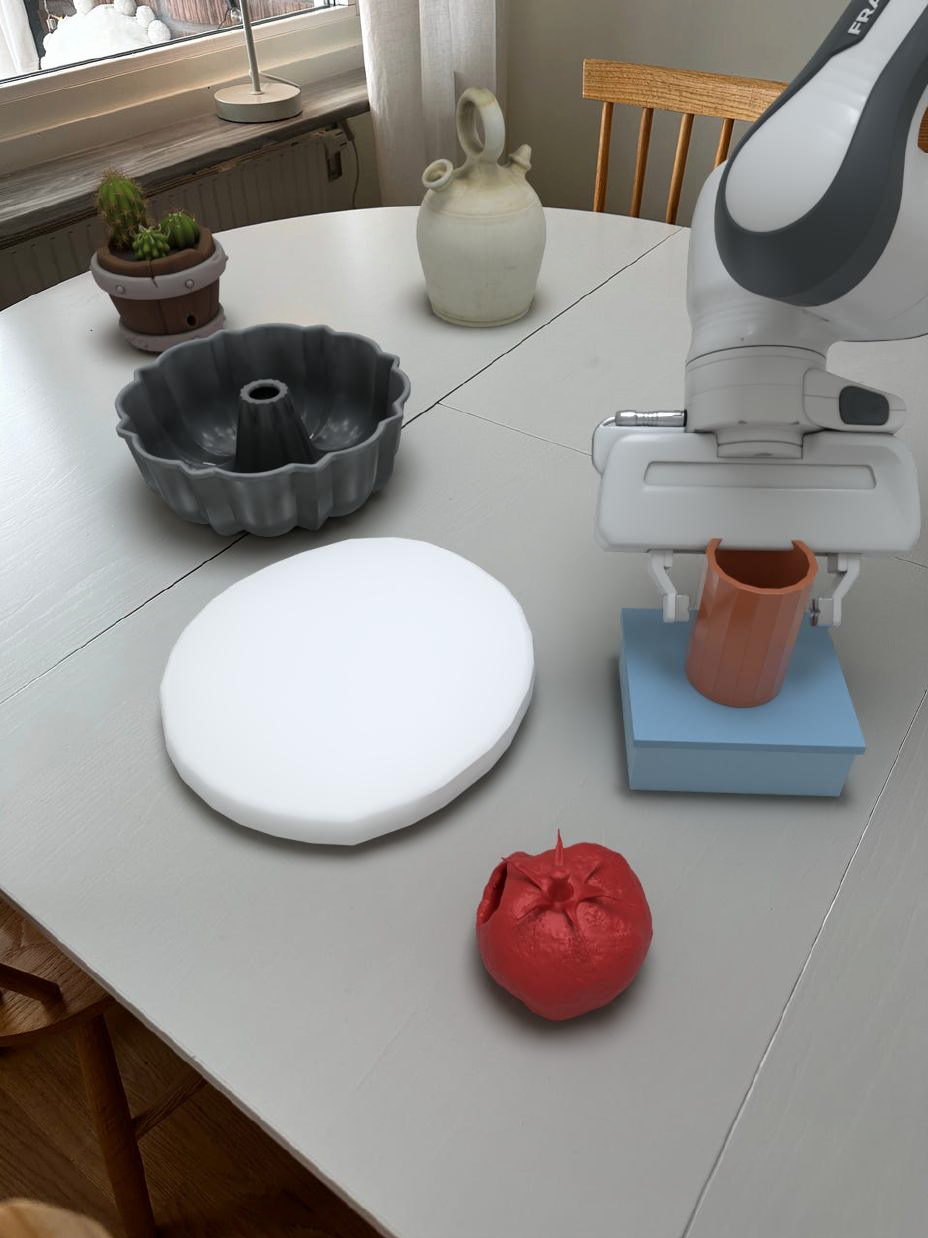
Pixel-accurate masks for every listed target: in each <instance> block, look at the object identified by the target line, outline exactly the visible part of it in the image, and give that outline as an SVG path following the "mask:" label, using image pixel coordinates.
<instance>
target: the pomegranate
mask: <svg viewBox="0 0 928 1238" xmlns="http://www.w3.org/2000/svg"><path fill="white" fill-rule="evenodd" d="M560 830H561V829H560V828H558V829H557V842H556V845H555V847H554V848H551V849H547V850H545V851H543V852H541V853H538V854H535V855H532V854H529V853H527V852H525V851H521V850H519V851H515V852H513V853H511V854H510V855H509V856H507V857H502V856H500V859H501V860H502V861H501V862H499V864H498V865H497V866H496V867H494V869H493V870H492V872H491V873H490V877H489V879H488V881H487V883H486V885H485V886H484V889H483V893H482V897H481V900H480V901H479V904H478V906H477V908H476V909H477V910H476V921H475V934H476V940H477V943H478V944H477V945H478V950H479V954H480V957H481V959H482V962H483V964H484V965H483V966H484V967H485V969H486V971H487V972H488V974H489V975H490V976H491V977H492V978H493V980H494V981H495V983H497V985H498V986H500V987H502V988H504V989H505V990H506V991H507V992H508V993H510V994H511V995H512V996H513V997H515V998H516V999H518V1000H520V1001H522V1002H523V1004H524V1005H525V1006H526V1007H527V1008H528V1009H529V1010H530V1012H532V1013H533V1014H534V1015H538V1016H541V1017H543V1018H545V1019H546V1020H548V1021H565V1020H569V1019H572V1018H575V1017H578V1016H582V1015H583V1014H586V1013H589V1012H591V1011H593V1010H599V1009H601V1008H602V1007H605V1006H607V1005H609V1004H610V1003H611V1002H612V1001H614V999H615V998H616V997H617V996H618V995H619V994H621V993H622V992H623V991H625V990H626V989H627V988H628V987H629V986H630V985H631V983H632V982H633V981H634V979H635V977H637V975H638V973H639V972H640V969H641V967H642V966H643V963H644V962H645V959H646V957H647V954H648V952H649V949H650V946H651V943H652V940H653V935H654V929H653V915H652V912H651V908H650V905H649V903H648V901H647V900H648V899H647V896H646V893H645V890H644V888H643V885H642V882H641V881H640V878H639V877H638V875H637V874H636V873H635V871H634V870H633V869H632V868H631V866H630V864H629V862H628V861H627V858H625V856H623V855H622V854H621V853H620V852H617V851H616V850H612V849H610V848H608V847H607V846H603V845H602V844H599V843H596V842H586V841H584V842H577V843H574V844H572V845H569V846H567V847H564V845H563V840H562V838H561V833H560V832H561V831H560Z"/></svg>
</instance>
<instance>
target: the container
mask: <svg viewBox="0 0 928 1238" xmlns="http://www.w3.org/2000/svg"><path fill="white" fill-rule="evenodd" d="M688 610H689V611H690V621H689V623H664V621H663V608H640V607H639V608H638V607H637V608H635V607H632V608H631V607H621V608H620V614H619V615H620V627H621V642H620V651H619V658H618V674H619V685H620V695H621V706H622V707H621V708H622V718H623V728H624V729H623V730H624V739H625V740H624V741H625V750H626V764H627V772H628V773H627V775H628V784H629V790H632V791H659V792H660V791H661V792H663V791H664V792H666V791H667V792H693V793H722V794H748V795H749V794H753V795H754V794H755V795H781V796H782V795H783V796H808V797H809V796H811V797H812V796H814V797H840V796H841V793H842V790H843V787H844V785H845V783H846V780H847V778H848V775H849V773H850V770H851V769H852V765H853V763H854V761H855V758H856V756H857V755H864V754H865V752H866V749H867V743H866V742H865V741H866V740H865V738H864V735H863V732H862V729H861V726H860V723H859V720H858V716H857V713H856V710H855V707H854V704H853V700H852V697H851V695H850V690H849V688H848V685H847V682H846V679H845V677H844V673H843V670H842V667H841V664H840V661H839V658H838V654H837V650H836V648H835V646H834V642H833V639H832V636H831V632H830V630H829V629H830V628H829V627H813V626H811V625H810V615H811V614H812V613H811V612H805V613H804V617H803V620H802V623H801V627H800V630H799V633H798V637H797V640H796V643H795V646H794V650H793V653H792V656H791V660H790V663H789V666H788V670H787V673H786V676H785V679H784V682H783V686H782V688H781V690H780V692H779V693H778V695H777V696H776V697H775V698H773V699H772V700H770V701H769V702H767V703H765V704H762V705H759V706H755V707H748V708H739V707H730V706H726V705H722V704H719V703H716V702H714V701H712V700H710V699H708V698H706V697H704V696H703V695H702V694H700V693H699V692H698V691H697V690H696V689H695V688H694V687H693V686H692V685H691V683H690V682H689V680H688V678H687V676H686V673H685V666H684V665H685V655H686V649H687V644H688V639H689V634H690V629H691V624H692V619H693V614H694V609H688Z"/></svg>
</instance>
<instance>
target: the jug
mask: <svg viewBox="0 0 928 1238" xmlns="http://www.w3.org/2000/svg"><path fill="white" fill-rule="evenodd" d="M476 109H477V110H478V113H479V115H480V118H481V121H482V126H483V130H484V132H483V133H484V145H483V143H482V142H481V140H480V137H479V134H478V131H477V125H476ZM455 125H456V133H457V136H458V137H457V138H458V141H459V144H460V146H461V148H462V151H464V153H465V156H466V160H465V162H464V164H462V165H461V166H460V167H457V168H455V169H454V166H453V163H452V161H450V160H449V159H447V158H439V159H437V160H435V161H433V162H431V163H430V164H429V165H428V166H427V167H426V168H425V170H424V171H423V174H422V176H421V183H422V185H423V186H424V187H425V189H428V190H427V191H426V193H425V195H424V196H423V200H422V201H421V204H420V207H419V211H418V214H417V219H416V226H415V227H416V228H415V235H416V236H415V237H416V246H417V251H418V252H417V253H418V256H419V260H420V261H419V262H420V265H421V269H422V273H423V276H424V280H425V281H424V282H425V285H426V292H427V296H428V299H429V303H430V304H431V309H432V312H433V313H434V315H436V317H437V318H439V319H441V320H442V321H445V322H447V323H450V324H452V325H455V326H456V325H457V326H461V327H467V328H493V327H500V326H504V325H508V324H511V323H513V322H515V321H518V320H520V319H522V318H523V317H524V316H526V314H528V312H529V310H530V307H531V303H532V301H533V297H534V294H535V291H536V288H537V283H538V279H539V276H540V273H541V268H542V264H543V259H544V254H545V249H546V243H547V222H546V221H547V220H546V215H545V212H544V208H543V205H542V203H541V200H540V198H539V196H538V194H537V193H536V191H535V190H534V188H533V187H532V186H531V184H530V183H529V182H528V181H527V180H526V173H527V172H529V171H530V170H531V169H532V164H531V162H530V161H531V157H532V147H531V146H529V145H528V144H527V143H524V144H522V145H520V147H519V148H517V150H516V151H514V152H513V153H510V154H508V162H507V163H506V164H504V165H499V164H498V160H499V159H500V157H501V155H502V154H503V151H504V148H505V143H506V141H505V140H506V127H505V120H504V116H503V111H502V108H501V107H500V104H499V101H498V100H497V97H496V96H495V95H494V94H493V93H492V92H491V91H490V89H488V88H486V87H485V86H482V85H481V86H480V85H475V86H474V85H473V86H471V87H468V88H467V89H466V90H465V91H464V92H463V93H462V94H461V96H460V97H459V99H458V102H457V106H456V113H455Z"/></svg>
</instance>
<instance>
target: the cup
mask: <svg viewBox="0 0 928 1238" xmlns="http://www.w3.org/2000/svg"><path fill="white" fill-rule="evenodd" d="M721 541H722V539H717V538H713V539H711V541H710V543H709V545H708V547H707V550H706V553H705V554H704V557H703V558H704V559H703V564H702V569H701V574H700V579H699V585H698V589H697V594H696V599H695V606H694V609H693V610H694V614H693V619H692V624H691V629H690V634H689V639H688V644H687V649H686V655H685V665H684V666H685V673H686V676H687V678H688V680H689V682H690V683H691V685H692V686H693V687H694V688H695V689H696V690H697V691H698V692H699V693H700V694H702V695H703V696H704V697H706V698H708V699H710V700H712V701H714V702H716V703H719V704H722V705H726V706H730V707H739V708H748V707H755V706H759V705H762V704H765V703H767V702H769V701H770V700H772V699H773V698H775V697H776V696H777V695H778V693H779V692H780V690H781V688H782V686H783V682H784V679H785V676H786V673H787V670H788V666H789V663H790V660H791V656H792V653H793V650H794V646H795V643H796V640H797V637H798V633H799V630H800V627H801V623H802V620H803V617H804V613H806V609H807V606H808V603H809V601H810V596H811V594H812V590H813V587H814V583H815V580H816V577H817V573H818V569H819V564H818V561H817V558H816V557H815V555H814V553H813V552H812V551H811V550H810V549H809V548H808V547H807V546H806V545H805V544H804V543H803V542H802V541H801V540H791V542H792V544H793V546H794V549H793V551H788V552H783V551H734V550H718V546H719V544H720V543H721Z"/></svg>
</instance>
